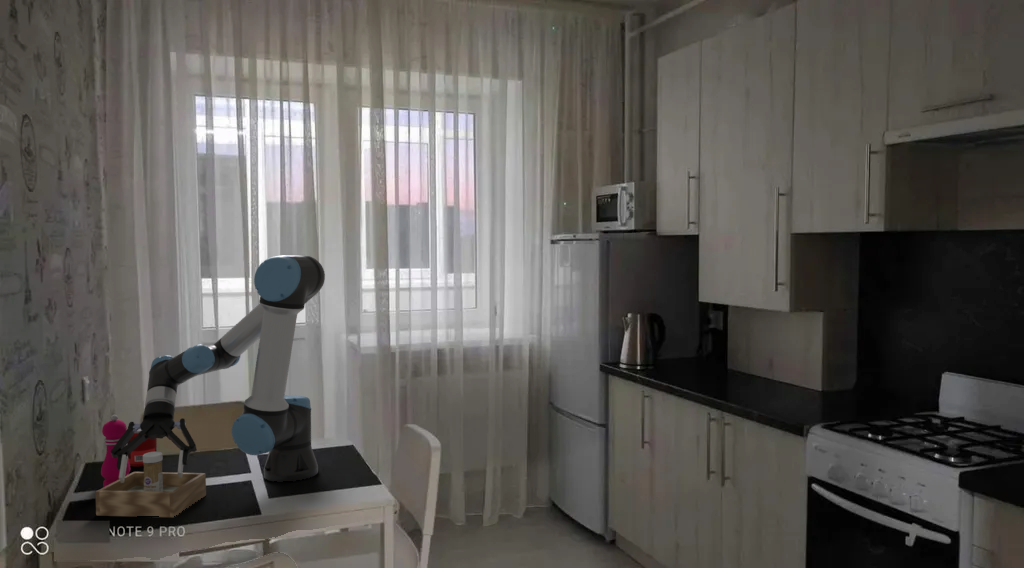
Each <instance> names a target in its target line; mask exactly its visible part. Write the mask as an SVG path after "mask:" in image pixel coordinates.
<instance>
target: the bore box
mask: <svg viewBox="0 0 1024 568" xmlns="http://www.w3.org/2000/svg"><path fill="white" fill-rule="evenodd" d="M162 474H163V492H153V491H144V471H133V472H131V473H130V472H129V474H128V475H127V476H125V480H124V483H121V482H120V480H117V481H115V482H113V483H111V484H109V485H107V486H105V487H102V488H100V489H98V490H95V514H96V516H100V517H103V516H104V517H105V516H106V517H107V516H108V517H137V516H159V517H158V518H175V517H177V516H178V515H180V514H181V513H182V511H183V510H184V511H186V510H187V509H189V508H190V507H191V506H193V505H194V504H196V503H197V502H199V501H201V498H202V499H203V498H204V497H205V496H207V483H206V482H207V480H206V479H207V478H206V477H207V475H206V472H183V474H182V478H179V476H178V472H167V471H166V472H163V471H162ZM198 500H199V501H198ZM195 502H196V503H195ZM192 504H193V505H192ZM189 506H190V507H189ZM186 508H187V509H186ZM185 509H186V510H185ZM184 511H183V512H184ZM179 513H180V514H179ZM176 515H177V516H176ZM174 516H175V517H174Z"/></svg>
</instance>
